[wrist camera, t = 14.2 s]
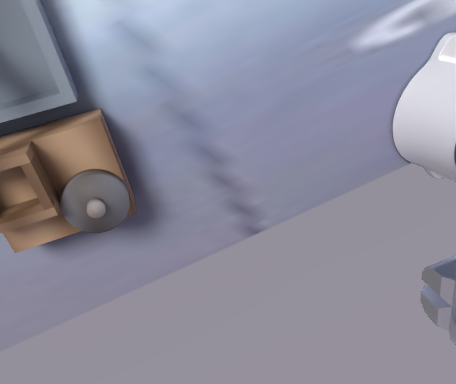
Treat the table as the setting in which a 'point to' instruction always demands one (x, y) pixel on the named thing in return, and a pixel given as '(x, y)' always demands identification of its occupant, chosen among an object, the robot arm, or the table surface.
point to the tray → (30, 62)
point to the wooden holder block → (61, 181)
